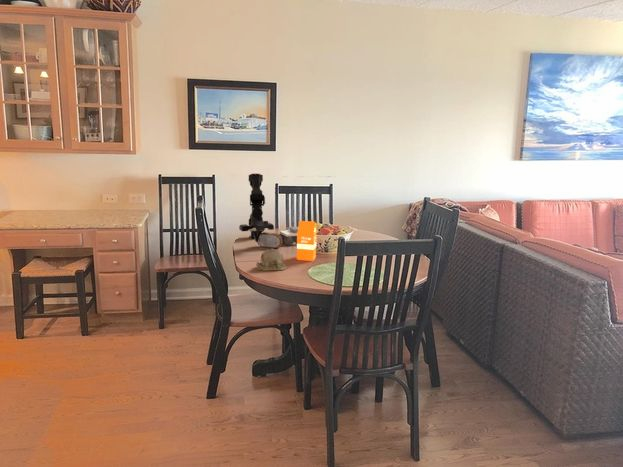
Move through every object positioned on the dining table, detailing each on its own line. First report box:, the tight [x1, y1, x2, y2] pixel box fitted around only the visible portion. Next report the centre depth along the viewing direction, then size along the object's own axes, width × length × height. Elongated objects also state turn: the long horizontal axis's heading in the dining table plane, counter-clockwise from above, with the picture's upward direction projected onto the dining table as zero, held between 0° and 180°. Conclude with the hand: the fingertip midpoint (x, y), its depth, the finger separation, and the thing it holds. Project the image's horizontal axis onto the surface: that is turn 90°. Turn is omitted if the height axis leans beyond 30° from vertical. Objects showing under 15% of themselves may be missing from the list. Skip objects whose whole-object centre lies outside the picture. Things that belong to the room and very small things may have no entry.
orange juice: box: [296, 220, 317, 262], centre depth 244 cm, size 8×9×20 cm
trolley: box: [278, 226, 298, 247], centre depth 277 cm, size 10×13×9 cm
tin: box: [256, 231, 284, 249], centre depth 265 cm, size 15×3×8 cm, turn 75°
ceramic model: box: [256, 248, 288, 272], centre depth 226 cm, size 14×11×10 cm
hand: (256, 242), depth 263 cm, fingers closed
